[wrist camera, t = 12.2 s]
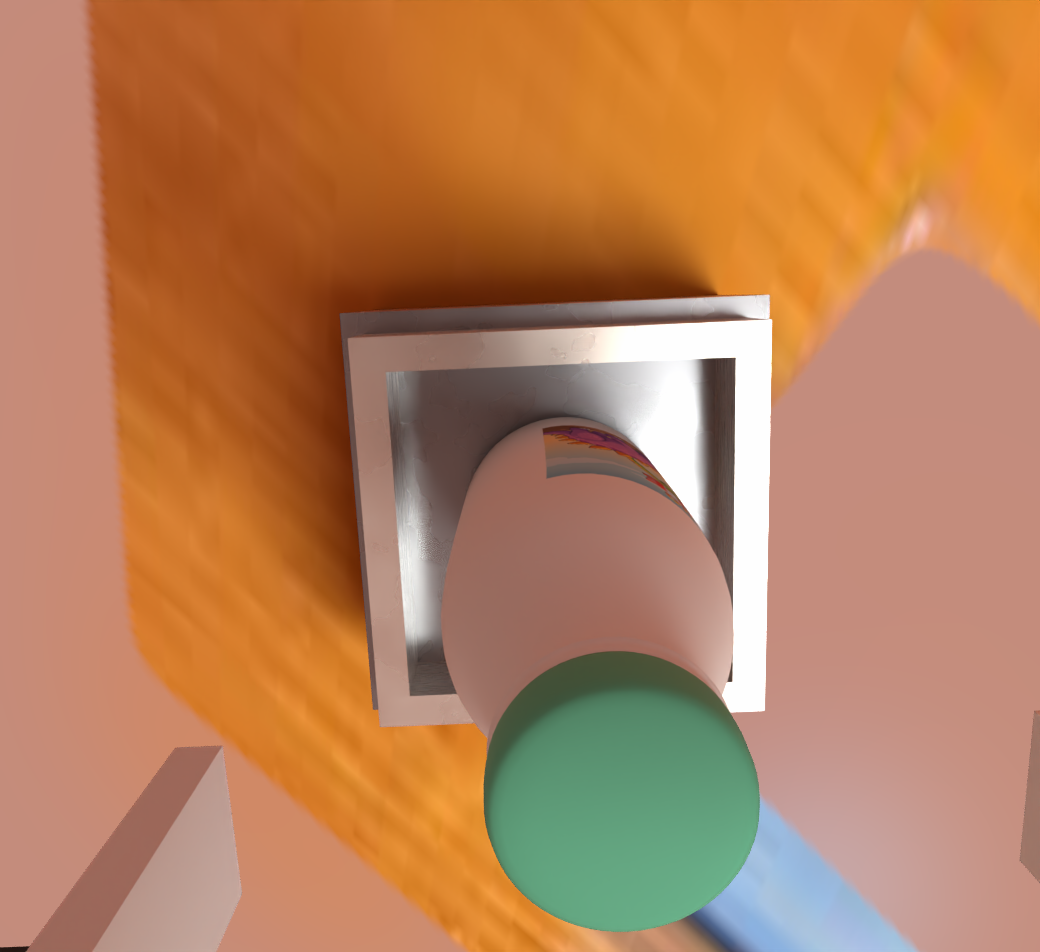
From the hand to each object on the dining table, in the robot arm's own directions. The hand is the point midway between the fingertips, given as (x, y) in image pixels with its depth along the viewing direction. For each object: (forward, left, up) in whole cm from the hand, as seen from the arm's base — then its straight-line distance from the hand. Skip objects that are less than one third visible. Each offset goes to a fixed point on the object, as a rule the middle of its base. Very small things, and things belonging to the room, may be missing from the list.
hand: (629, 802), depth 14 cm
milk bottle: (0, 0, -20) cm, 20 cm away
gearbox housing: (0, 0, -28) cm, 28 cm away
